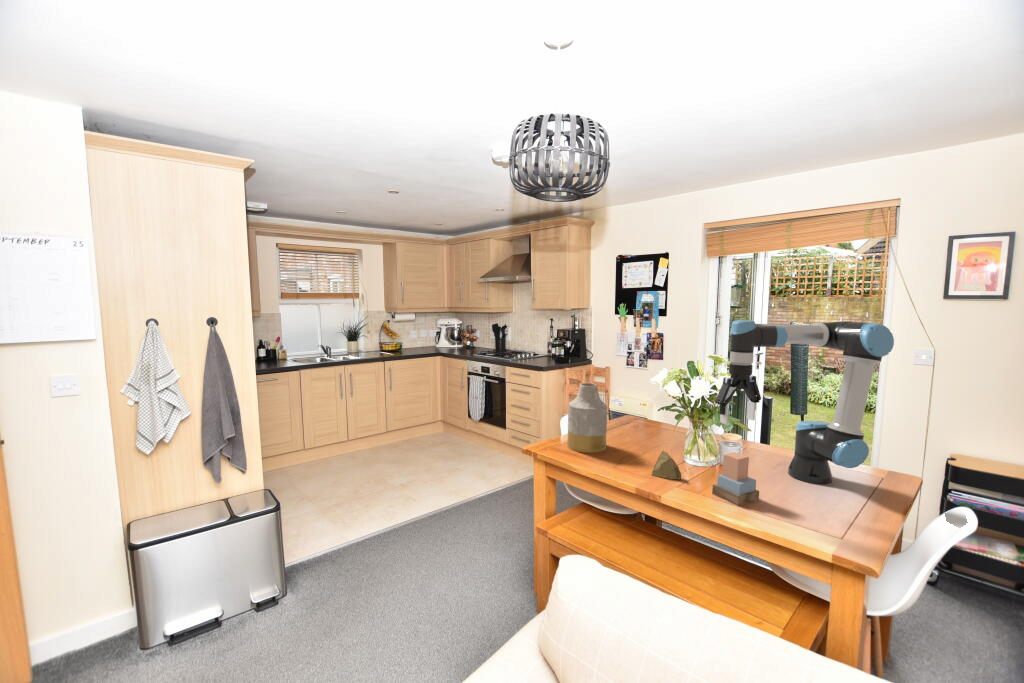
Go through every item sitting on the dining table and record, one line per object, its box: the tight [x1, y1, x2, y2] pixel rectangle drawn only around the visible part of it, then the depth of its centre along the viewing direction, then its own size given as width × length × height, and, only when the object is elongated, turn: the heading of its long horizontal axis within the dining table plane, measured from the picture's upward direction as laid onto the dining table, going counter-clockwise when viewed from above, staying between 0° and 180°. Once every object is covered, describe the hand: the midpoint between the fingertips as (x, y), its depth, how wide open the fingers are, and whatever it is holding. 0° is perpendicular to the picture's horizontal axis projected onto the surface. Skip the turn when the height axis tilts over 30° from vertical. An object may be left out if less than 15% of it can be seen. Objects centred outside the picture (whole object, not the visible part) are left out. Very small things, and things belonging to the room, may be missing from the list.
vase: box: [567, 382, 608, 454], centre depth 223 cm, size 18×18×30 cm
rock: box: [650, 450, 682, 480], centre depth 188 cm, size 11×9×10 cm
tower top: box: [716, 474, 757, 495], centre depth 170 cm, size 9×9×4 cm
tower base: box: [711, 483, 760, 507], centre depth 171 cm, size 11×11×4 cm
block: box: [721, 451, 750, 481], centre depth 170 cm, size 6×6×8 cm
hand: (737, 421), depth 169 cm, fingers open, 13 cm apart
